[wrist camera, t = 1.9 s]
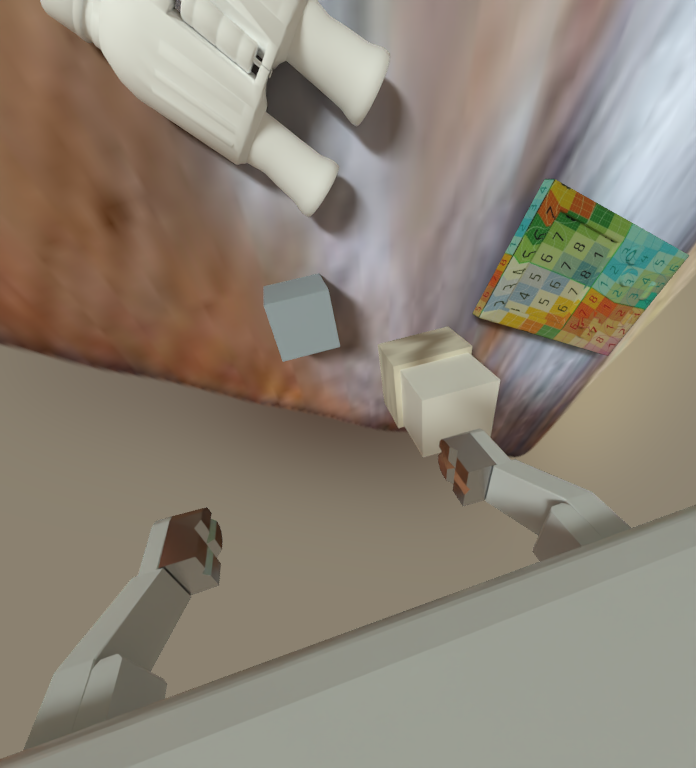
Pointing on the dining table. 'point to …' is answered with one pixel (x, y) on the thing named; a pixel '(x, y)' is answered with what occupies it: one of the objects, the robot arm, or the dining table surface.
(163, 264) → the dining table surface
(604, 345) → the puzzle game
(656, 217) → the dining table surface
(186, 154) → the dining table surface
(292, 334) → the grey cube
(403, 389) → the white block
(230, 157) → the binoculars
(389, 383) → the birch slab
